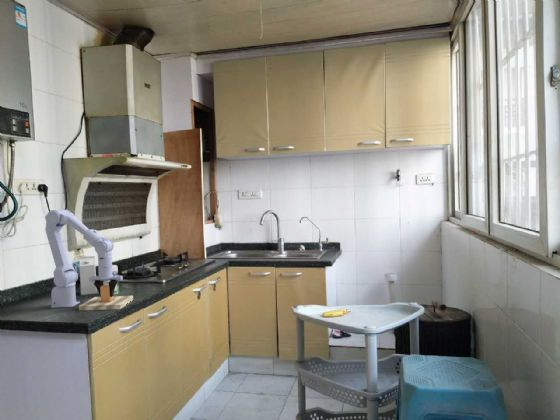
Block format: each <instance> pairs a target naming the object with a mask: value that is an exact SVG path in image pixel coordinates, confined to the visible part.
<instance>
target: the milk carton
mask: <svg viewBox="0 0 560 420" xmlns="http://www.w3.org/2000/svg"><path fill="white" fill-rule="evenodd" d="M96 270H97V269H96V258H95V256H94V255H90V256H79V278H80V279H79V282H80V283H79V284H80V295H81V296H84V295H94V294H95V295H96V294H97V292H98V290H97V288H96V286H95V285H94V283H95V281H91V282H89V277H93V276H97V274H96Z"/></svg>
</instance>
